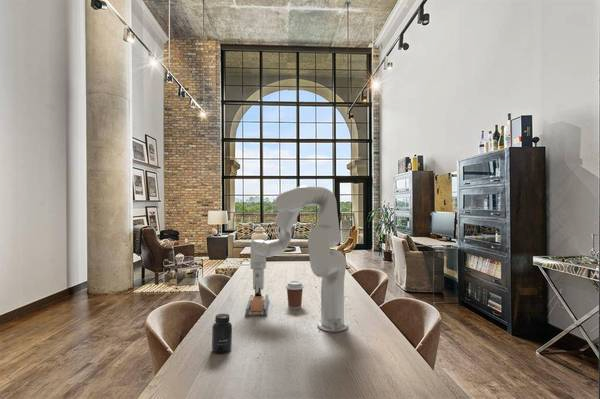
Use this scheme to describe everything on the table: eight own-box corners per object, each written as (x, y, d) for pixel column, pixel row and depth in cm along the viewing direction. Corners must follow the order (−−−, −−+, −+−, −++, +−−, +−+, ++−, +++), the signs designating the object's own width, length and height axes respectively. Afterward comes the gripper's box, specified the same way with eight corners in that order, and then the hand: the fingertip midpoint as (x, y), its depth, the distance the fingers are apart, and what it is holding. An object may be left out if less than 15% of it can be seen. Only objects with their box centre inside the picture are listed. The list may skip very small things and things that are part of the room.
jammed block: (263, 310, 153) (263, 300, 153) (250, 310, 153) (250, 300, 153) (263, 306, 159) (263, 296, 159) (251, 306, 159) (251, 296, 159)
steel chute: (266, 316, 150) (266, 308, 150) (244, 316, 149) (244, 308, 149) (269, 301, 172) (269, 294, 172) (249, 301, 171) (249, 294, 171)
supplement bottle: (221, 356, 111) (221, 320, 112) (207, 351, 115) (207, 316, 115) (235, 348, 117) (236, 314, 117) (222, 344, 121) (222, 311, 121)
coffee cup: (288, 310, 158) (288, 285, 158) (283, 304, 166) (283, 281, 166) (306, 308, 161) (306, 283, 161) (300, 303, 169) (300, 279, 169)
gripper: (264, 268, 154) (264, 307, 154) (266, 262, 169) (266, 298, 169) (248, 268, 154) (248, 307, 154) (252, 262, 169) (251, 298, 169)
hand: (258, 302), depth 162 cm, fingers closed
